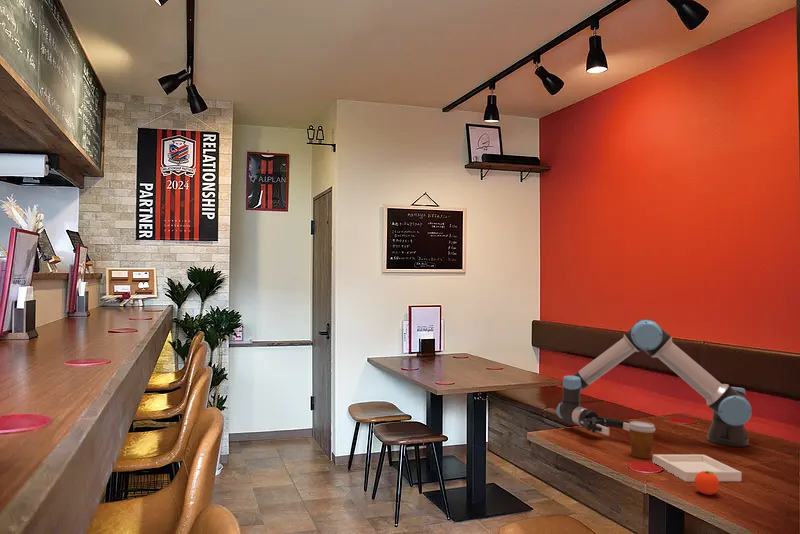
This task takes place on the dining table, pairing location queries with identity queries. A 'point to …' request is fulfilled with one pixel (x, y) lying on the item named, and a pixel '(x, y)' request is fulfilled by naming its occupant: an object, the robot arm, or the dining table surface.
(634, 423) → the disposable coffee cup
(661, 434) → the dining table surface
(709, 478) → the clementine
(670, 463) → the cream tray
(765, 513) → the dining table surface
